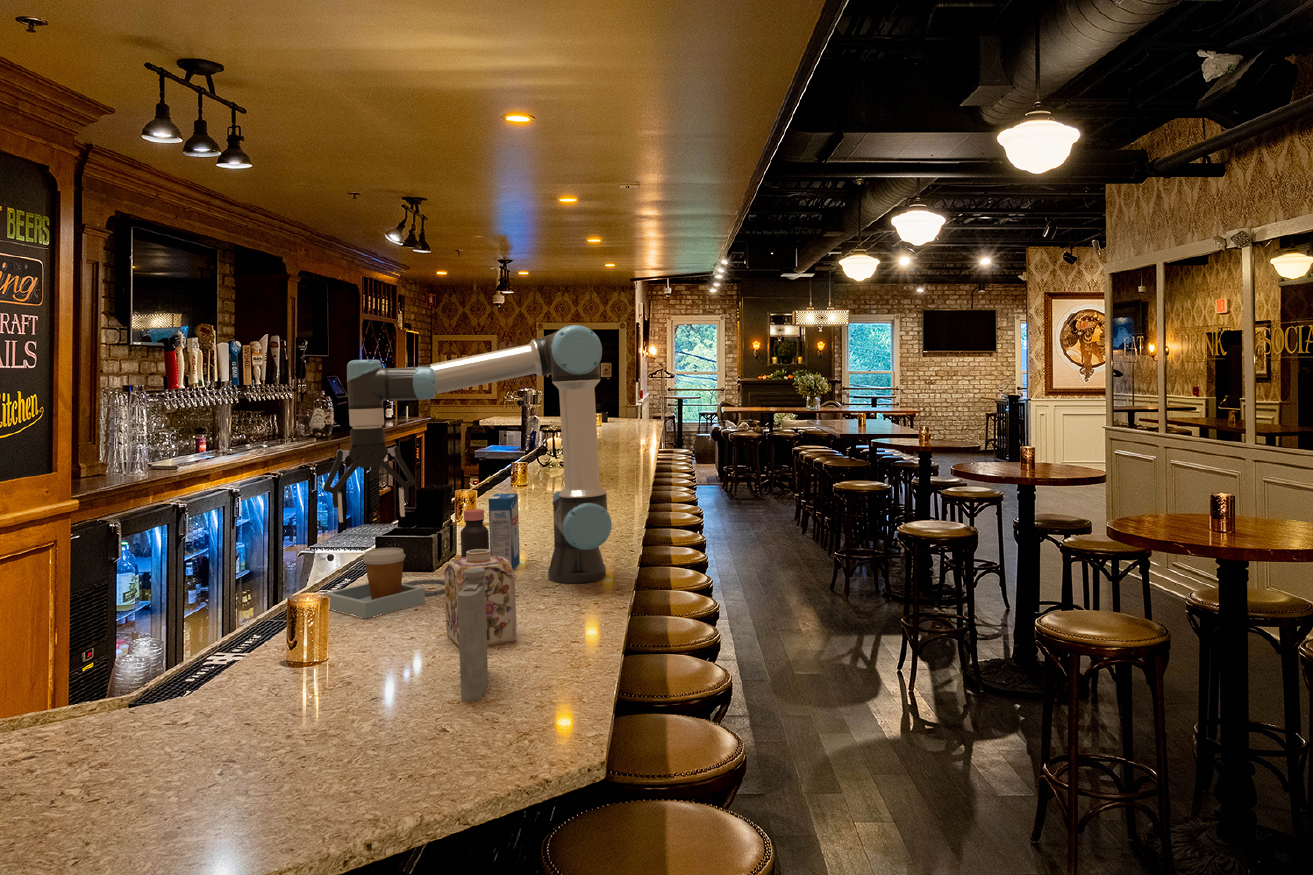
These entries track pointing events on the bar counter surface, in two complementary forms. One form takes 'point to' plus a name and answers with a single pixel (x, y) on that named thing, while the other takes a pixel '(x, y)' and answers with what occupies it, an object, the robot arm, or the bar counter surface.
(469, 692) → the hip flask
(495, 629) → the decorative jar
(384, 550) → the disposable coffee cup
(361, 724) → the bar counter surface
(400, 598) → the bin
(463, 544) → the bottle
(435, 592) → the collar
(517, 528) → the milk carton
